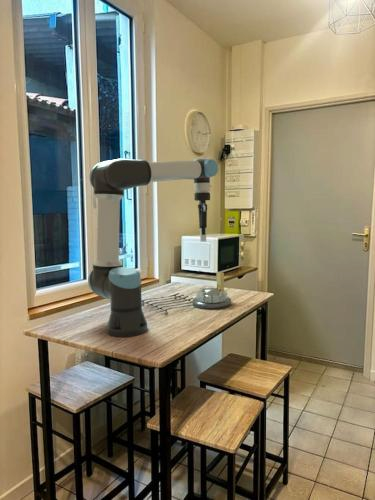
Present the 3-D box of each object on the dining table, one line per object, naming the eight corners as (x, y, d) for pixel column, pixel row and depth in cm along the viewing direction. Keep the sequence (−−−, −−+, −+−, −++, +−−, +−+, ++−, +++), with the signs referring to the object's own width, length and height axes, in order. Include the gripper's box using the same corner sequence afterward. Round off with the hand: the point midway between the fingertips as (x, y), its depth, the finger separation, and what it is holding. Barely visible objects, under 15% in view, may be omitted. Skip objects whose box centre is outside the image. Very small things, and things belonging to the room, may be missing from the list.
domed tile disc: (233, 298, 179) (233, 274, 178) (212, 304, 170) (211, 278, 168) (211, 293, 190) (211, 270, 188) (190, 299, 180) (189, 274, 179)
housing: (201, 311, 168) (201, 295, 168) (187, 301, 185) (186, 287, 184) (238, 306, 175) (238, 291, 174) (220, 297, 191) (220, 283, 191)
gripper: (212, 191, 178) (213, 242, 181) (207, 192, 191) (208, 239, 194) (196, 192, 177) (197, 243, 180) (192, 192, 190) (194, 240, 193)
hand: (203, 241), depth 187 cm, fingers closed
